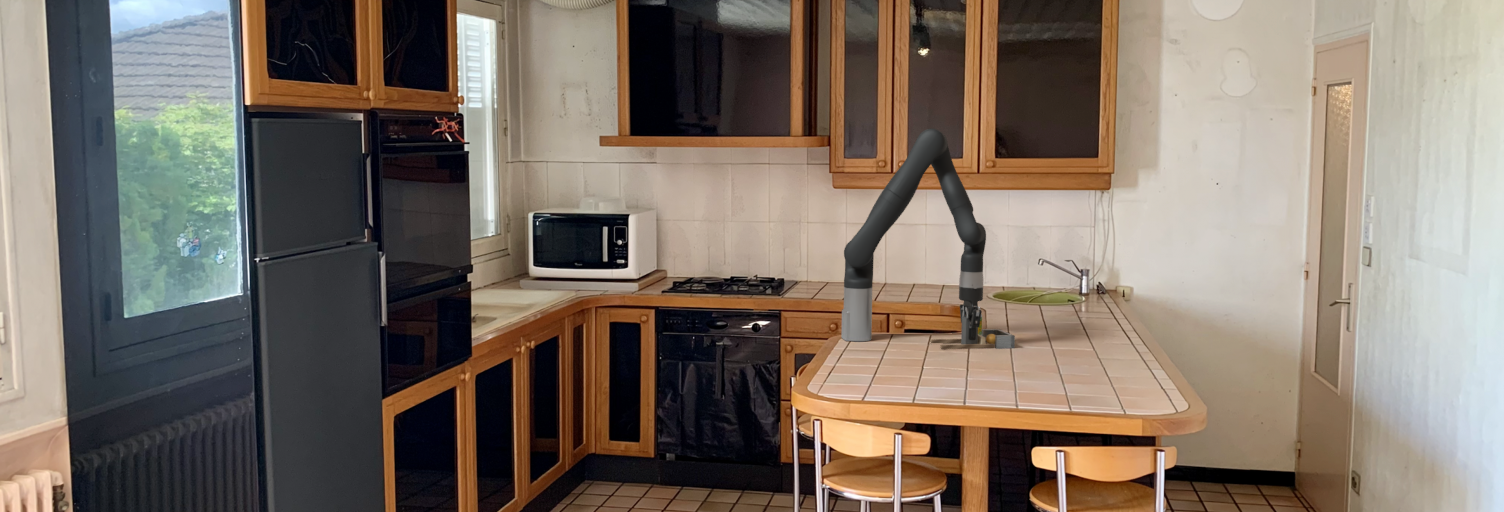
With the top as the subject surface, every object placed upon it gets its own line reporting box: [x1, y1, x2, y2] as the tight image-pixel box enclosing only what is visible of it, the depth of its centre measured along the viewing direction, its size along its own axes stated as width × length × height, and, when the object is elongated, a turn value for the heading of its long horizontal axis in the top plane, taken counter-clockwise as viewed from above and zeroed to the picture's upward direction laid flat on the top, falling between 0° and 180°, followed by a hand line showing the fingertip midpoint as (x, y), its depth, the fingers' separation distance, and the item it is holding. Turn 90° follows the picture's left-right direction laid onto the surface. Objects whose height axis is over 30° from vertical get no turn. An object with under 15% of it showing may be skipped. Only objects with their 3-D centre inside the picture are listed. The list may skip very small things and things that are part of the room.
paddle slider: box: [960, 315, 986, 344], centre depth 369 cm, size 6×7×9 cm
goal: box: [981, 328, 1016, 350], centre depth 371 cm, size 6×13×4 cm, turn 9°
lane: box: [929, 338, 995, 350], centre depth 369 cm, size 17×11×1 cm, turn 99°
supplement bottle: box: [978, 306, 983, 336], centre depth 388 cm, size 5×5×10 cm
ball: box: [985, 334, 995, 344], centre depth 371 cm, size 4×4×4 cm
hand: (969, 338), depth 369 cm, fingers closed on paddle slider, 4 cm apart
